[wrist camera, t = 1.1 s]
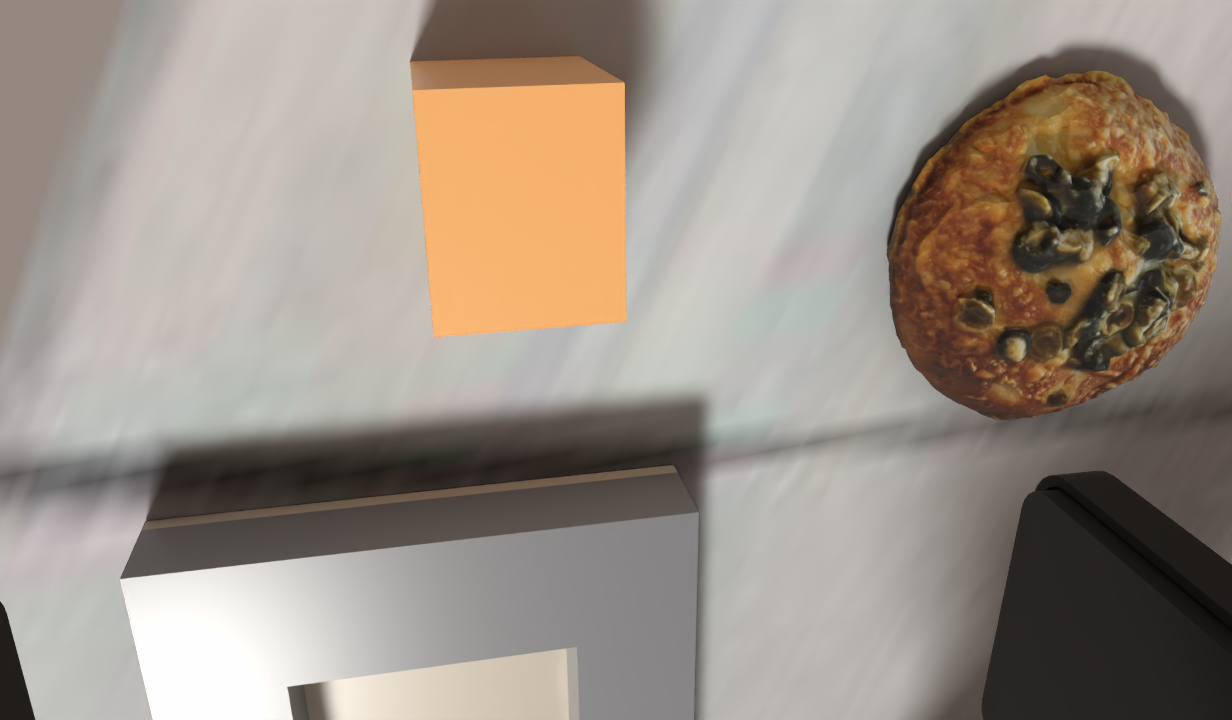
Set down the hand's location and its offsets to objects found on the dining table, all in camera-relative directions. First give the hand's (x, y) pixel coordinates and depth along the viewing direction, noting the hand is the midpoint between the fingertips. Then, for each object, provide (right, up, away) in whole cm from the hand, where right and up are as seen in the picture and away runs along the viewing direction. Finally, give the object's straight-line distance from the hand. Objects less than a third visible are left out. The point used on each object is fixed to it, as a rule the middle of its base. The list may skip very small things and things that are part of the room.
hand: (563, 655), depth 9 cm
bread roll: (+14, +7, +23) cm, 28 cm away
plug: (-3, +8, +18) cm, 20 cm away
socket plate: (-5, -9, +25) cm, 27 cm away
